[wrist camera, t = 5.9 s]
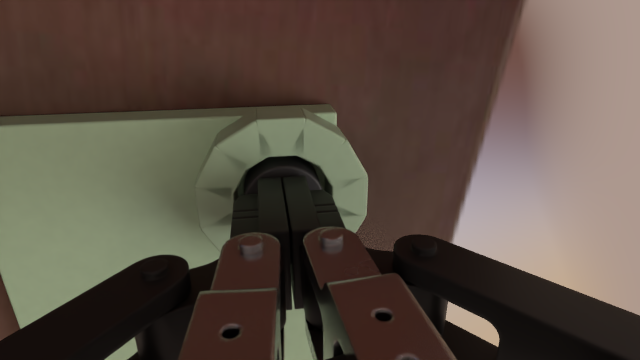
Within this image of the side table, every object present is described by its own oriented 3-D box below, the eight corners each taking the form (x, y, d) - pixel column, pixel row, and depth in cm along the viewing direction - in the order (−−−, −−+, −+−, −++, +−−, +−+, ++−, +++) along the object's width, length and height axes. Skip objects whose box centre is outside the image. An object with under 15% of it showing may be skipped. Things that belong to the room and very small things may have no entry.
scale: (350, 96, 15) (371, 115, 13) (345, 349, 20) (359, 403, 17) (-28, 109, 14) (-99, 134, 11) (62, 382, 18) (29, 448, 16)
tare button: (317, 148, 14) (325, 163, 13) (318, 215, 15) (325, 236, 14) (241, 152, 14) (240, 169, 12) (247, 221, 15) (246, 243, 13)
